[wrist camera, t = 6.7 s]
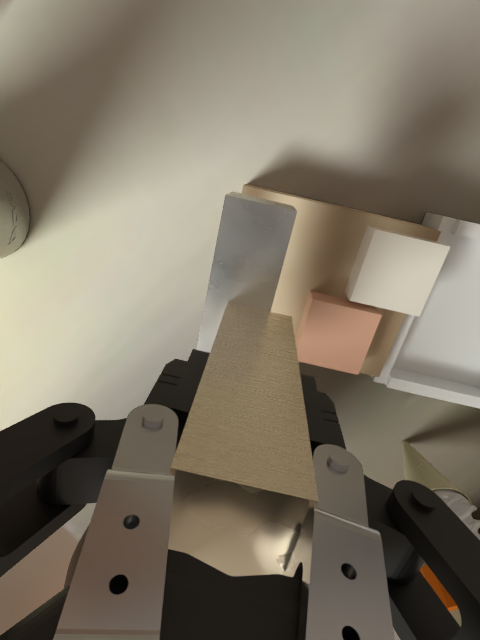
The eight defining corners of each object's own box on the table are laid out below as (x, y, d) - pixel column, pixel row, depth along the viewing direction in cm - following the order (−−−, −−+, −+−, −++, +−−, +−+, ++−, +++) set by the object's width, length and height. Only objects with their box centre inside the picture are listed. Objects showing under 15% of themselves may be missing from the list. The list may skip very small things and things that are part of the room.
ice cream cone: (440, 444, 36) (548, 613, 22) (397, 469, 38) (473, 641, 24) (411, 413, 35) (506, 570, 21) (368, 439, 36) (429, 602, 23)
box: (364, 364, 33) (384, 402, 28) (426, 211, 28) (465, 221, 22) (479, 390, 33) (520, 433, 28) (562, 243, 28) (634, 260, 23)
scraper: (192, 394, 22) (97, 660, 10) (232, 191, 17) (146, 227, 5) (256, 409, 22) (238, 693, 10) (313, 210, 17) (408, 289, 5)
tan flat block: (218, 320, 33) (211, 339, 29) (246, 183, 28) (243, 185, 24) (366, 354, 33) (378, 377, 29) (418, 224, 28) (441, 231, 25)
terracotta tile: (292, 348, 29) (293, 360, 27) (309, 290, 27) (312, 299, 25) (352, 362, 29) (358, 374, 27) (374, 305, 27) (382, 315, 25)
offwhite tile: (344, 292, 27) (349, 300, 25) (367, 225, 25) (375, 229, 23) (408, 306, 27) (419, 316, 25) (437, 241, 25) (450, 246, 23)
